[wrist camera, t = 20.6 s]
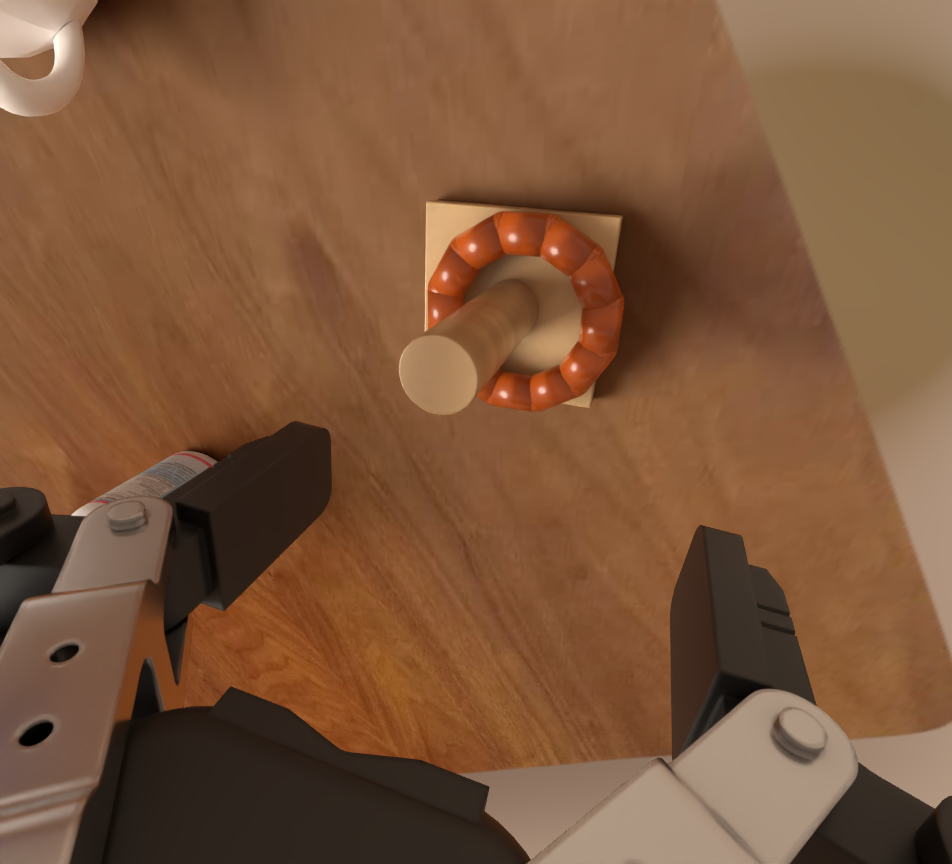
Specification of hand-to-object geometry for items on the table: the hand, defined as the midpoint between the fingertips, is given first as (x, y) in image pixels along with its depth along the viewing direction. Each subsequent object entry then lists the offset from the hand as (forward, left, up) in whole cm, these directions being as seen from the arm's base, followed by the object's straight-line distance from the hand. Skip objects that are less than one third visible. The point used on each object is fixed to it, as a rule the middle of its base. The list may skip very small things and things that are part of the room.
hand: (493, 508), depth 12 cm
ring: (+3, 0, -15) cm, 16 cm away
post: (+4, 0, -18) cm, 18 cm away
